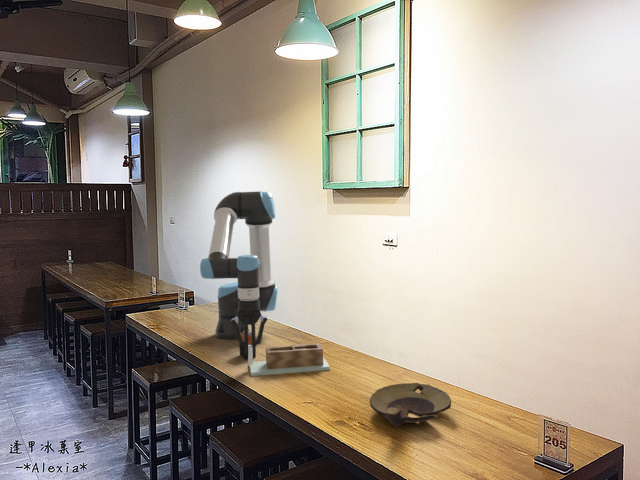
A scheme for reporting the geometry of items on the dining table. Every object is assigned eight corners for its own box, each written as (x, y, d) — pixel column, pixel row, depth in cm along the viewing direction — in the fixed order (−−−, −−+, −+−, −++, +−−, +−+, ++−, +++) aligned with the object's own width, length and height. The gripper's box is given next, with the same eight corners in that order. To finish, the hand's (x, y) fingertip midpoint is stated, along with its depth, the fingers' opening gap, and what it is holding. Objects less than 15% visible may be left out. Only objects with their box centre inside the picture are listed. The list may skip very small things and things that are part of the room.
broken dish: (468, 414, 151) (468, 387, 151) (399, 448, 132) (399, 418, 131) (406, 392, 168) (406, 369, 167) (337, 420, 148) (336, 394, 148)
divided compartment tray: (267, 369, 189) (267, 352, 188) (266, 363, 196) (265, 347, 195) (323, 365, 192) (323, 348, 192) (319, 359, 199) (319, 343, 199)
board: (251, 376, 186) (250, 364, 185) (249, 365, 197) (248, 354, 197) (329, 369, 191) (329, 358, 190) (323, 359, 202) (323, 348, 202)
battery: (245, 359, 204) (244, 334, 203) (239, 355, 210) (238, 330, 209) (256, 357, 206) (255, 332, 205) (249, 353, 212) (249, 328, 211)
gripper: (230, 301, 184) (232, 368, 186) (268, 299, 187) (269, 365, 189) (229, 297, 192) (231, 361, 194) (266, 295, 194) (267, 359, 196)
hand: (250, 363), depth 191 cm, fingers closed
